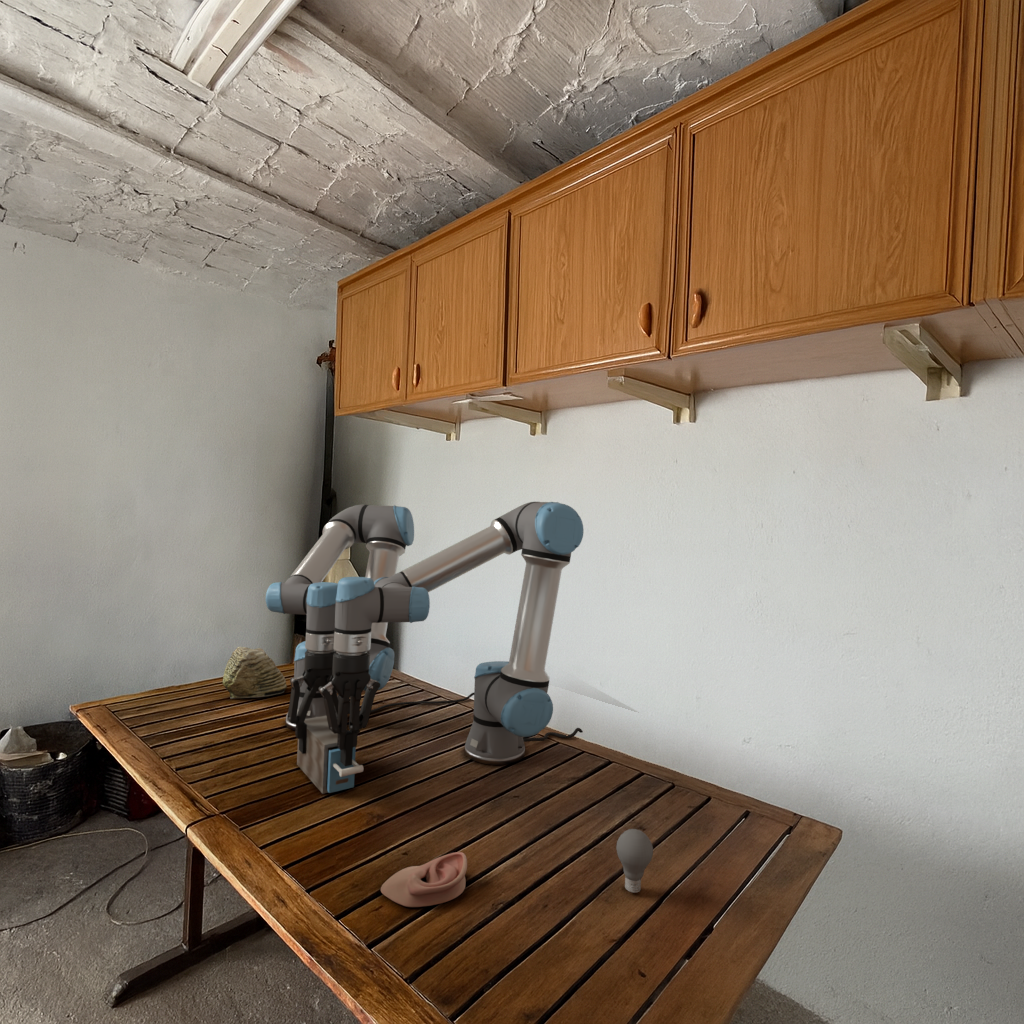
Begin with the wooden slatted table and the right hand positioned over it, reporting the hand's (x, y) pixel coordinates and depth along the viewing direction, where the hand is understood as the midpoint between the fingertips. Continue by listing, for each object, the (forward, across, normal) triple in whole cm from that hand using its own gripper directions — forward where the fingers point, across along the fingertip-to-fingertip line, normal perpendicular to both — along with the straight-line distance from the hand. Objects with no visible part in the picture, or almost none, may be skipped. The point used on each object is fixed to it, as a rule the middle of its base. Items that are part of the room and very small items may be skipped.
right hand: (346, 763), depth 133 cm
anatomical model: (+8, 0, -35) cm, 36 cm away
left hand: (+3, 0, +18) cm, 18 cm away
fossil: (+8, +2, +79) cm, 80 cm away
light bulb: (+7, +29, -55) cm, 62 cm away
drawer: (+7, 0, +8) cm, 11 cm away
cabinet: (+8, 0, +14) cm, 16 cm away
